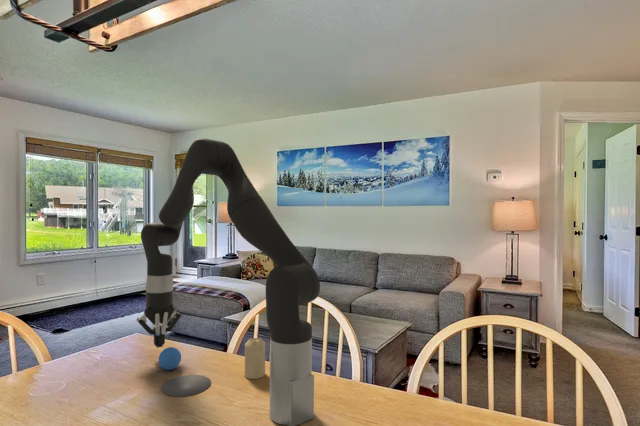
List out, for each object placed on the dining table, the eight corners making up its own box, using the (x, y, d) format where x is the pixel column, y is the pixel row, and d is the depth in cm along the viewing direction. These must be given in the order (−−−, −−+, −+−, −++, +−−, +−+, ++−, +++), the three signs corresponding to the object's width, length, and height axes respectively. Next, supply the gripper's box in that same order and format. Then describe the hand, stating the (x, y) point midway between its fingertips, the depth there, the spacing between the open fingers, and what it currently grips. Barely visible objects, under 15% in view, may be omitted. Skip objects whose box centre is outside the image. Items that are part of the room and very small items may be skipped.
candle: (267, 371, 111) (267, 335, 110) (262, 379, 105) (262, 342, 105) (247, 370, 111) (248, 335, 111) (242, 378, 106) (242, 341, 105)
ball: (184, 369, 111) (184, 348, 111) (162, 375, 107) (162, 353, 107) (177, 363, 116) (177, 342, 116) (155, 368, 112) (155, 347, 112)
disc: (218, 387, 100) (218, 386, 100) (170, 401, 93) (170, 400, 93) (200, 371, 110) (200, 371, 110) (155, 383, 102) (155, 382, 102)
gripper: (139, 294, 112) (139, 355, 112) (186, 288, 120) (185, 345, 120) (132, 289, 117) (132, 347, 118) (177, 284, 126) (177, 338, 126)
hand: (159, 346), depth 119 cm, fingers closed
